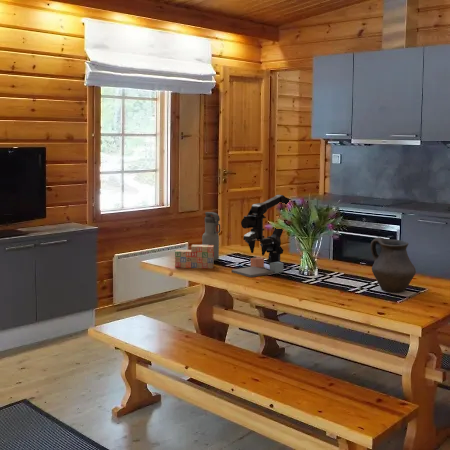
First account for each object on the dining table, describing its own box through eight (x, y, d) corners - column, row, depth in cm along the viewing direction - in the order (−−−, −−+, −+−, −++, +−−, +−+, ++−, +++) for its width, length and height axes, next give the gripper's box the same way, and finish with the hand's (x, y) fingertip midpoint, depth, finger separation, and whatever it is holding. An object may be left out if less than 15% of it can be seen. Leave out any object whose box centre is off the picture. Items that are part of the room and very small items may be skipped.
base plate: (254, 268, 356) (254, 266, 356) (273, 273, 343) (273, 271, 343) (231, 272, 346) (231, 269, 346) (250, 277, 334) (250, 275, 333)
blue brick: (277, 270, 351) (277, 261, 350) (283, 272, 347) (283, 263, 347) (269, 272, 347) (269, 263, 347) (275, 273, 344) (275, 264, 343)
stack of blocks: (174, 267, 357) (174, 246, 355) (176, 265, 363) (176, 244, 361) (213, 268, 356) (213, 246, 354) (214, 266, 362) (214, 244, 360)
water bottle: (222, 258, 382) (222, 212, 378) (213, 261, 374) (213, 214, 370) (208, 257, 388) (208, 211, 384) (199, 259, 379) (199, 212, 375)
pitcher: (407, 297, 294) (409, 244, 291) (361, 291, 306) (363, 239, 302) (419, 288, 311) (422, 238, 308) (376, 282, 323) (378, 234, 319)
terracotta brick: (258, 265, 363) (258, 257, 363) (263, 267, 360) (263, 258, 359) (250, 267, 360) (250, 258, 359) (255, 268, 356) (255, 259, 356)
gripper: (236, 226, 359) (235, 253, 361) (257, 230, 344) (257, 258, 347) (251, 224, 366) (251, 251, 368) (273, 228, 351) (272, 256, 354)
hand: (257, 254), depth 359 cm, fingers open, 9 cm apart
